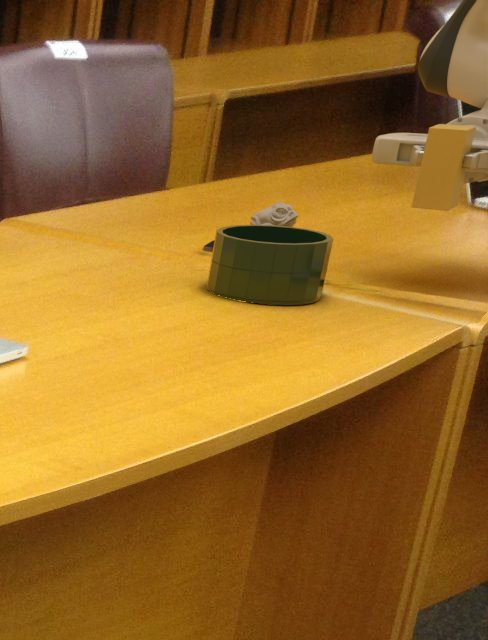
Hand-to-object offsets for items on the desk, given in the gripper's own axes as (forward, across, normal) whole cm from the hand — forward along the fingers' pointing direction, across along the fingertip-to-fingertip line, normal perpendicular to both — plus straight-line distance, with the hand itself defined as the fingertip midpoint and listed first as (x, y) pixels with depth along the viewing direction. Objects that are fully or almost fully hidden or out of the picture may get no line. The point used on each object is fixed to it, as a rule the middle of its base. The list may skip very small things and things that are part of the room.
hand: (444, 159), depth 198 cm
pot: (+8, -17, +18) cm, 26 cm away
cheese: (-1, 0, +6) cm, 6 cm away
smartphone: (-18, -26, +18) cm, 37 cm away
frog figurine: (-26, -27, +18) cm, 42 cm away
